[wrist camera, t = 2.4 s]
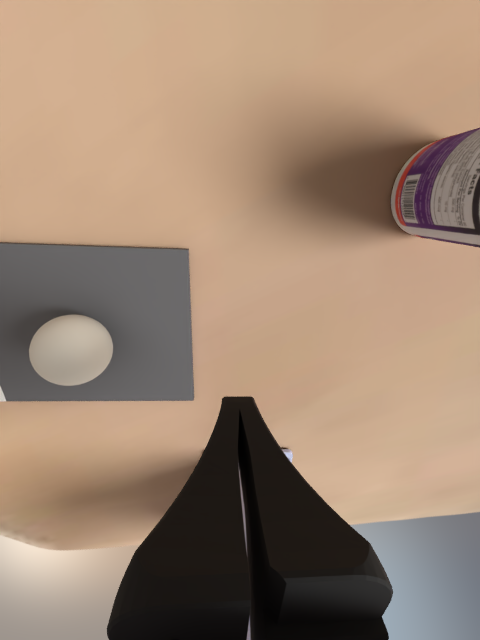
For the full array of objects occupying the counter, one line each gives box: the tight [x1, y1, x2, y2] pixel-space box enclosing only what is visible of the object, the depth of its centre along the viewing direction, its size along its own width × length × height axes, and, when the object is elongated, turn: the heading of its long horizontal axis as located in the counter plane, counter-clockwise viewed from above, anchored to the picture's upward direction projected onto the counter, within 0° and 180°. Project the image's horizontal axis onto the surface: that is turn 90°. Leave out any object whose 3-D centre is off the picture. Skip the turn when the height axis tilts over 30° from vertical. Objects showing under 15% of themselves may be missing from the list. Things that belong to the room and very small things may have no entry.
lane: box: [0, 242, 194, 401], centre depth 18 cm, size 12×25×1 cm, turn 88°
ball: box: [29, 315, 113, 386], centre depth 16 cm, size 4×4×4 cm
